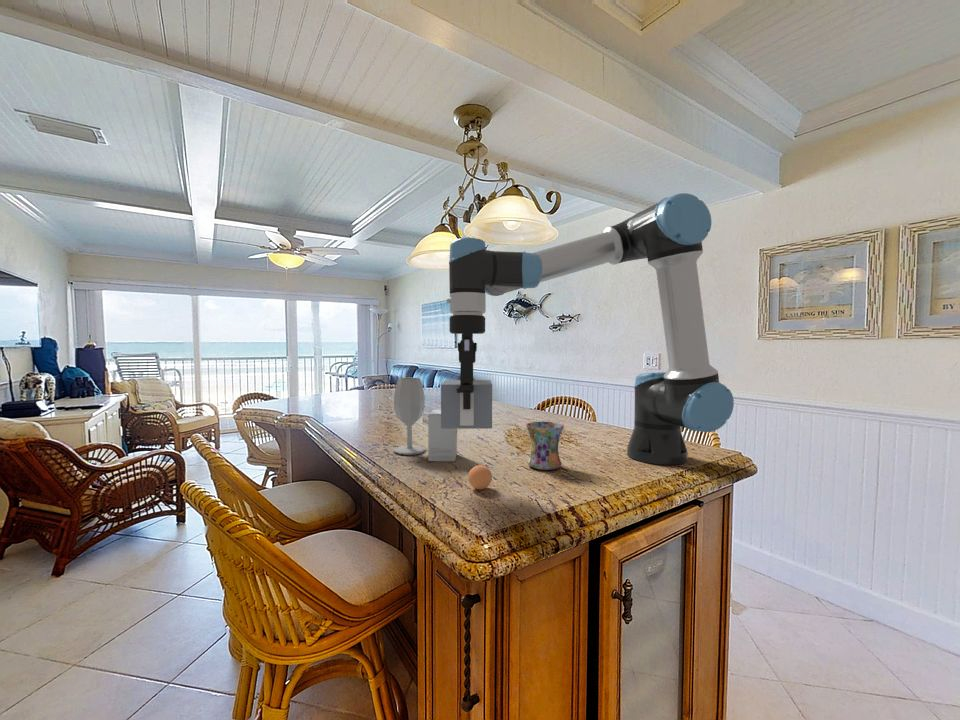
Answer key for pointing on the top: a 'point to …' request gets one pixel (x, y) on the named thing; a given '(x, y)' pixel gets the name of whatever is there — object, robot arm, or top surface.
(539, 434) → the mug
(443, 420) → the gray tilted carton
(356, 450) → the top surface
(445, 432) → the supplement box
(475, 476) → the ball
